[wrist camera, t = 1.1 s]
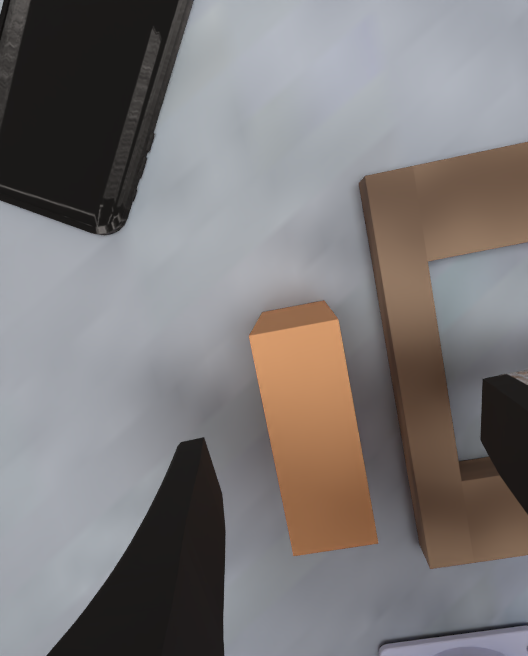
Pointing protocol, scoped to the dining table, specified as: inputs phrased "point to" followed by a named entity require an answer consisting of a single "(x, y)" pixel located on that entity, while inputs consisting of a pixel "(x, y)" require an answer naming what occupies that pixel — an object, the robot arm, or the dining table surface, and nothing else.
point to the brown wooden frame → (424, 343)
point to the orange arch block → (313, 428)
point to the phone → (82, 103)
